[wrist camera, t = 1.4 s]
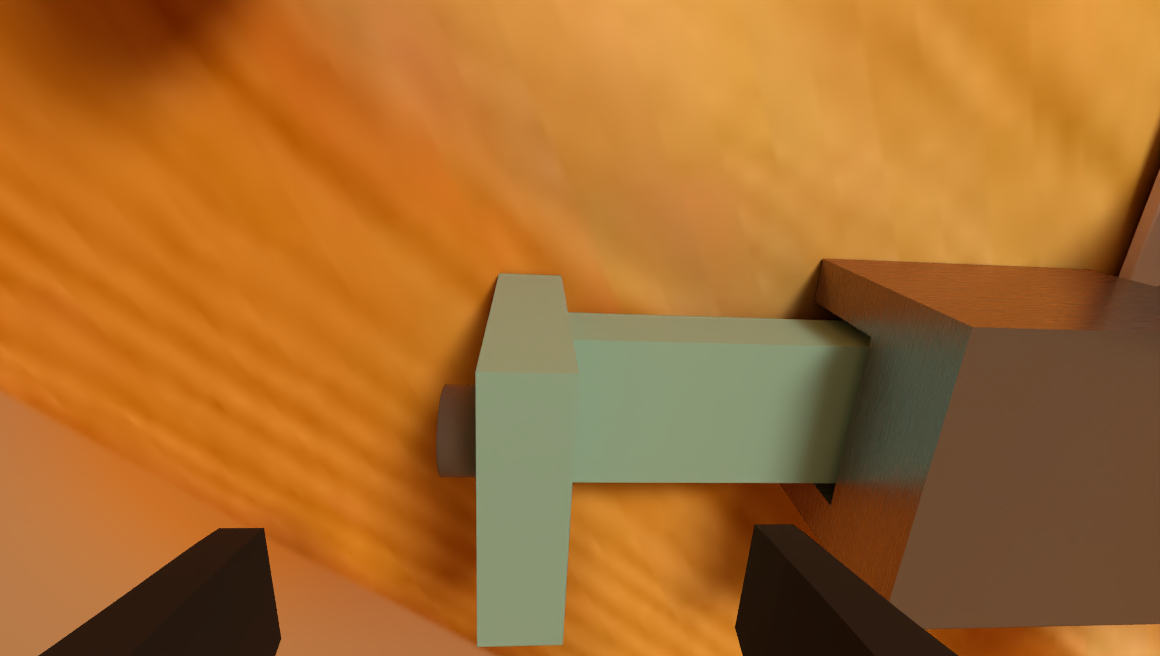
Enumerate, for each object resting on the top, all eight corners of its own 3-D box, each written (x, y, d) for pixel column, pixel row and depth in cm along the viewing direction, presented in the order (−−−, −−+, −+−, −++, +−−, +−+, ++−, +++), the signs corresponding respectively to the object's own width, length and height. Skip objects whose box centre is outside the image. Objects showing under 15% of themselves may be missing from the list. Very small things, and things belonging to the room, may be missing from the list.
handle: (958, 289, 16) (1209, 386, 10) (907, 464, 17) (1093, 632, 12) (459, 271, 14) (409, 370, 9) (462, 461, 16) (422, 648, 10)
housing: (1089, 269, 16) (1357, 338, 11) (1012, 481, 18) (1201, 623, 13) (823, 258, 15) (972, 326, 10) (777, 481, 17) (880, 629, 12)
